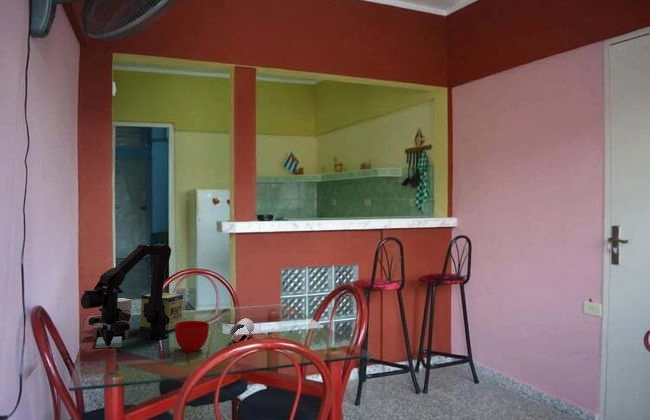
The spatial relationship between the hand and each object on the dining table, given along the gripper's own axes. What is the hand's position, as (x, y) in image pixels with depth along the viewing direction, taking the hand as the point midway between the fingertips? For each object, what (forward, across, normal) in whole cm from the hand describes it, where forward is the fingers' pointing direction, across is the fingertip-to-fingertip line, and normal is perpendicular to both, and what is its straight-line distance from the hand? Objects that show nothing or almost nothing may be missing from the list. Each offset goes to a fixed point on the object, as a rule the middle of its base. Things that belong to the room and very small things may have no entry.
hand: (108, 345), depth 201 cm
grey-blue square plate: (+2, +5, -4) cm, 7 cm away
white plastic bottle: (+2, -25, -47) cm, 54 cm away
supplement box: (+1, +28, -23) cm, 37 cm away
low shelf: (+1, +15, -11) cm, 19 cm away
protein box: (+2, +12, -34) cm, 36 cm away
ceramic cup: (+1, -22, -21) cm, 30 cm away
